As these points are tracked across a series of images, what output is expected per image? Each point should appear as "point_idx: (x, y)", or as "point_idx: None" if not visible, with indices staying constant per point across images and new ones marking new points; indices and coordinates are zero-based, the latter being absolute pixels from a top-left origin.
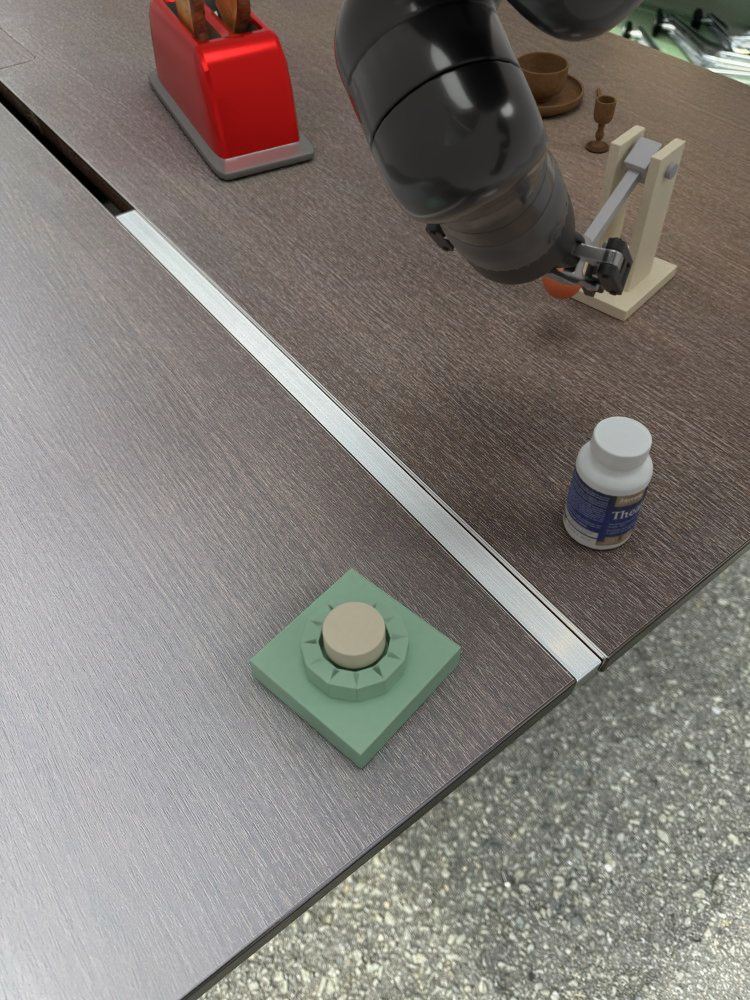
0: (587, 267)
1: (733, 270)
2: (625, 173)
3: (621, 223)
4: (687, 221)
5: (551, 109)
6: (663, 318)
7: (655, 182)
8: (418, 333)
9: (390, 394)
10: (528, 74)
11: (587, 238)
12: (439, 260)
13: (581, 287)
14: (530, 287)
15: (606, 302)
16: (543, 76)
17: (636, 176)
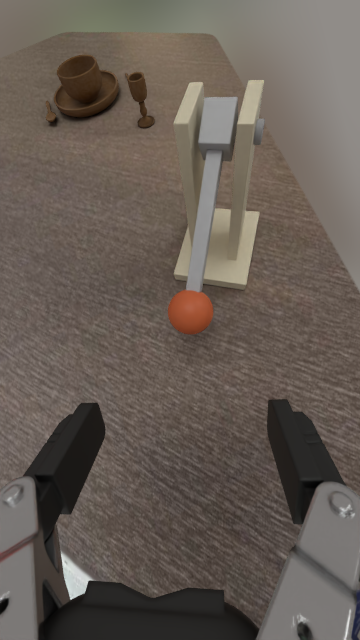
0: (297, 495)
1: (296, 193)
2: (202, 156)
3: None
4: None
5: (101, 104)
6: (273, 270)
7: (249, 158)
8: (83, 389)
9: (84, 493)
10: (70, 80)
11: (351, 623)
12: (73, 288)
13: (288, 505)
14: (155, 285)
15: (224, 281)
16: (82, 77)
17: (220, 157)
